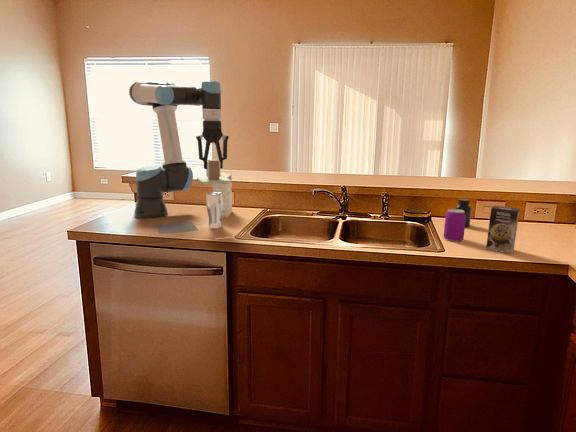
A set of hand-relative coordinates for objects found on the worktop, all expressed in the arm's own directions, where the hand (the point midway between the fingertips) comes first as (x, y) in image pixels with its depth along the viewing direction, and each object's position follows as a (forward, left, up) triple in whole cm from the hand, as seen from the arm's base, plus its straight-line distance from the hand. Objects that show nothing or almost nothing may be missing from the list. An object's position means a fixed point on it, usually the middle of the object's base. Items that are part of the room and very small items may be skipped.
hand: (213, 176), depth 186 cm
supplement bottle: (+32, +107, -23) cm, 114 cm away
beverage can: (+49, +87, -23) cm, 102 cm away
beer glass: (0, 0, -23) cm, 23 cm away
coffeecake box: (-23, +9, -23) cm, 34 cm away
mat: (-4, -16, -22) cm, 28 cm away
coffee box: (+66, +94, -23) cm, 117 cm away
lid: (0, 0, -2) cm, 2 cm away
